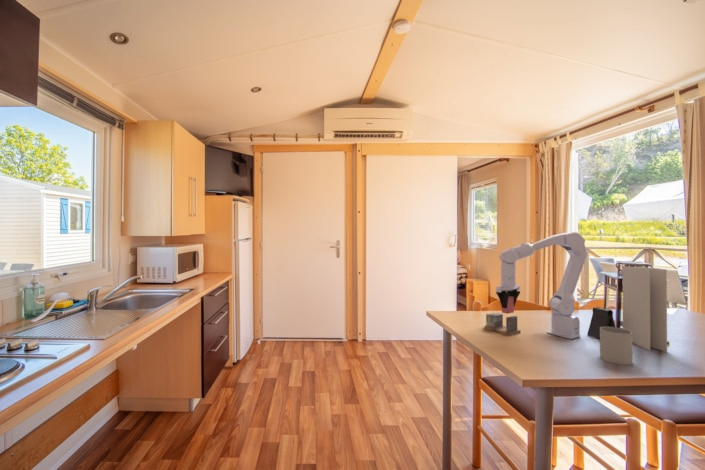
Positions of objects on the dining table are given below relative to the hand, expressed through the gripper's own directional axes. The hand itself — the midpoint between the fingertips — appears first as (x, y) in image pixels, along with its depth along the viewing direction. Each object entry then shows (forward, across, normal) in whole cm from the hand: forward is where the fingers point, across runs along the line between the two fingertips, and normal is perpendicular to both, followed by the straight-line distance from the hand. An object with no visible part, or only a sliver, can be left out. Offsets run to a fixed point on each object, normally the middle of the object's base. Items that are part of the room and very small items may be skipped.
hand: (508, 307), depth 133 cm
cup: (+11, -3, +37) cm, 39 cm away
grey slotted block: (+10, +3, -1) cm, 11 cm away
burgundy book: (+2, 0, 0) cm, 2 cm away
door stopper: (+11, -28, +24) cm, 38 cm away
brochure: (+10, -31, +36) cm, 49 cm away
